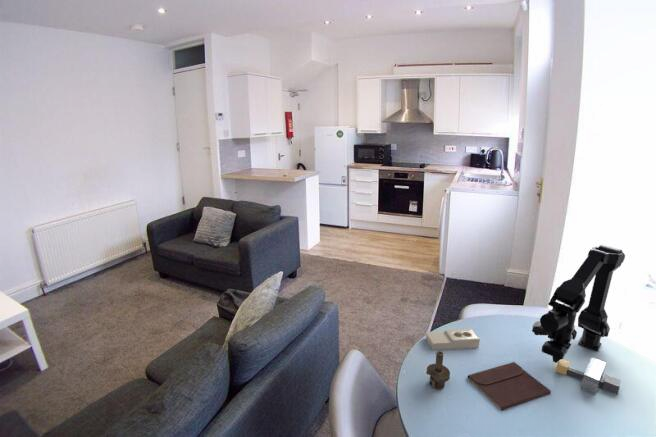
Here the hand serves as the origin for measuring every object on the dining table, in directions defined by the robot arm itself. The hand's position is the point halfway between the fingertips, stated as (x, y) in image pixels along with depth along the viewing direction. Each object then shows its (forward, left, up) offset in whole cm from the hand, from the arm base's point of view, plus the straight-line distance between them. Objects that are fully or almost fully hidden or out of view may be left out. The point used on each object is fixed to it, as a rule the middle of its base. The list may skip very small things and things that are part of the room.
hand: (555, 361), depth 129 cm
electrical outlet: (+12, -32, -3) cm, 34 cm away
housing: (0, +11, -2) cm, 11 cm away
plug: (-1, +9, -2) cm, 10 cm away
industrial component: (+37, -25, -2) cm, 45 cm away
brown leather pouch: (+21, -8, -3) cm, 22 cm away
